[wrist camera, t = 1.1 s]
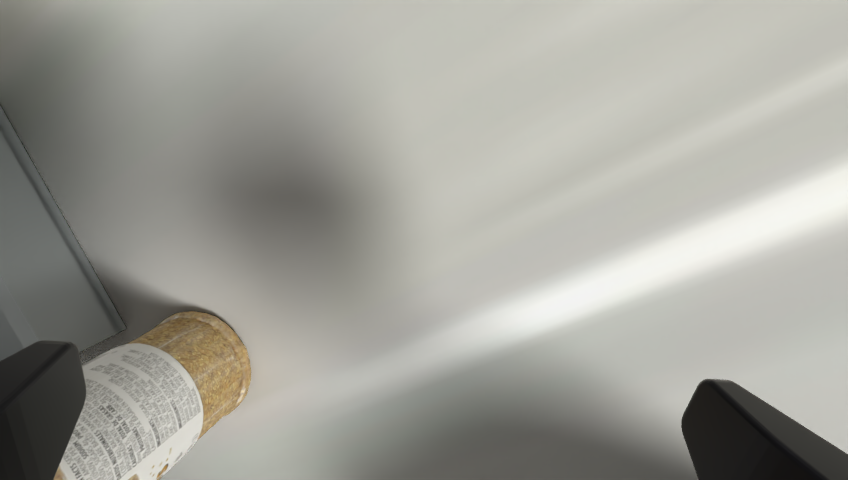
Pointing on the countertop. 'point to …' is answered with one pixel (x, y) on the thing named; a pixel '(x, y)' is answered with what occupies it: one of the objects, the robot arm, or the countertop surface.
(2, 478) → the robot arm
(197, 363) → the sprinkles bottle
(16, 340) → the tray
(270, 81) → the countertop surface
